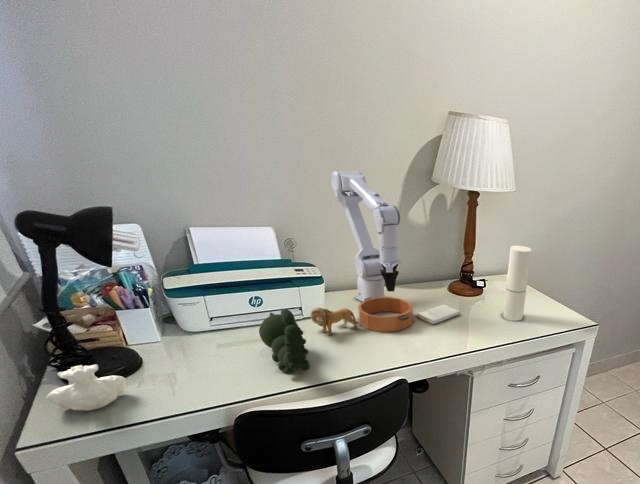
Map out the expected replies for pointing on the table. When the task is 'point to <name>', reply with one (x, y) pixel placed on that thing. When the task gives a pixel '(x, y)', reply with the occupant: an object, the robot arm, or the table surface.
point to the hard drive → (438, 314)
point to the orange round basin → (386, 321)
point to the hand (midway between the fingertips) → (390, 287)
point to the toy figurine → (285, 341)
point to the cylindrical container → (516, 282)
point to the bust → (86, 389)
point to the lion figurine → (332, 318)
